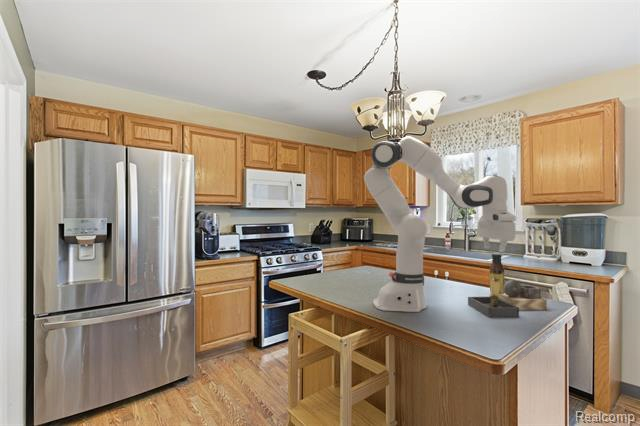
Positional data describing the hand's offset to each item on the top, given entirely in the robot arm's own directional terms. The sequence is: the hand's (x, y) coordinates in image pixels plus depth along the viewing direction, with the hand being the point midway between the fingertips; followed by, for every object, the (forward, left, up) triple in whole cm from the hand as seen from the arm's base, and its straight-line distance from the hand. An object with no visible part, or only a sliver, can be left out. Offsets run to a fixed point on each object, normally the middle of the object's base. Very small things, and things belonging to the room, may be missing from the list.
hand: (494, 250), depth 126 cm
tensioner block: (+15, +5, -25) cm, 29 cm away
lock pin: (0, 0, -24) cm, 24 cm away
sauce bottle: (+15, +22, -25) cm, 36 cm away
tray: (-1, 0, -25) cm, 25 cm away
